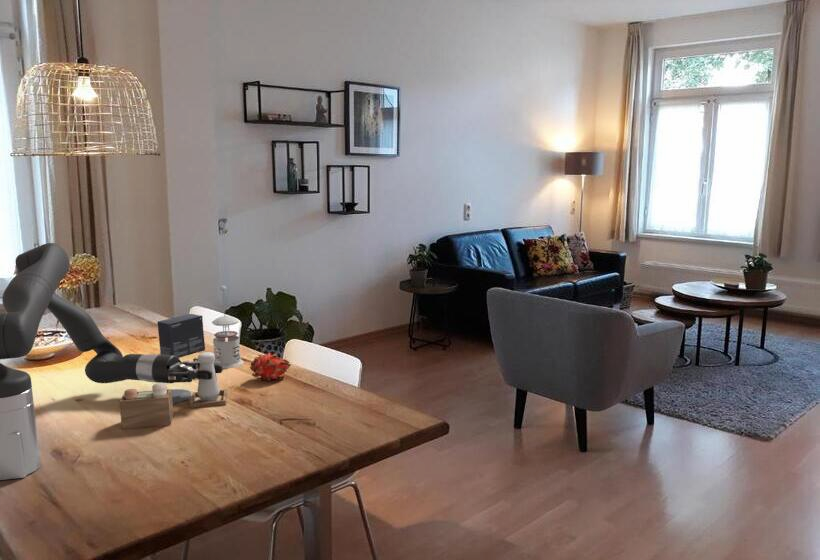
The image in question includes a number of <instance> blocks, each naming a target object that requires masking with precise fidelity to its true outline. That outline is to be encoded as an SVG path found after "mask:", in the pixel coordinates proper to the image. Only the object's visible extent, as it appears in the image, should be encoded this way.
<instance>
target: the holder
mask: <svg viewBox="0 0 820 560" xmlns="http://www.w3.org/2000/svg"><path fill="white" fill-rule="evenodd" d="M220 395H223V398H222V400H216V401H210V402H202V401H200V402H195V400H196V397H199V396H198V394H197V391H193V392H192V393H191V397H190V402H189V409H191V408H202V407H203V408H205V407H215V406H226V404H227V398H228V389H220V393H219V395H218V396H220Z"/></svg>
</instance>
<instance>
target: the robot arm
mask: <svg viewBox="0 0 820 560" xmlns="http://www.w3.org/2000/svg"><path fill="white" fill-rule="evenodd" d="M69 258H70V257H69V256H68V253H67V252H66V251H65V249H64V248H63V247H62V246H61V245H59V244H57V243H55V242H48V243H43V244H41V245H39V246H36V247H34V248H32V249H29V250H27V251H25V252H22V253H20V254H18V255H17V256H16V258H15V266H16V267H15V268H16V270H17V271H18V273H17V274H16V275H15V276H14V277H12V279H11V280H10V281H9V283H8V285H7V286H6V288H5V290H4V292H3V293H2V296H1V297H2V298H1V299H2V305H3V307H4V309H5V311H6V312H1V313H0V360H8V359H17V358H19V359H20V358H22V357H25V356H27V355H29V353H30V352H31V350H32V349H33V347H34V344H35V340H36V337H37V333H38V331H39V327H40V323H41V320H42V318H43V316H44V315H45V312H46V310H47V309H48V311H50V313H51V314H53V316H54V317H55V318H56V320H57V321H58V322H59V323H60V324H61V326H62V327H63V329H64V330H65V331H66V333H67V335H68V336H69V338H70V339H71V341H72V343H73V344H74V345H75V347H76V348H77V350H78V351H79V352H82V353H87V352H90V351H92V350H93V351H94V352H95V354H96V355H94V357H92V359H90V360H89V361H88V362H87V364H86V365H85V368H84V374H85V376H86V377H87V378H88V380H90V381H92V382H94V383H97V384H112V383H118V382H123V381H127V380H128V381H129V380H130V381H141V382H143V381H144V382H148V383H156V384H158V383H165V384H174V383H192V382H193V381H197V380H198V381H199V379H207V380H210V379H212V371H206V370H200V365H201V363H199V362H198V357H194V358H193V359H192V361H190V360H183V361H181V359H180V357H179V358H178V357H177V356H175V355H161V354H160V353H159V354H157V353H151V354H150V353H148V354H143V353H141V354H140V353H128V354H125V355H123V354H122V352H121V350H120V349H119V348H118V347H117V346H116V345H115V344H113V343H112V342H111V340H109V339H108V338H107V337H106V336H105V335H103V334H102V332H101V330H100V329H99V327H98V325H97V324H96V322H95V320H94V319H93V318H92V316H91V315H90V314H89V313H88V312H87V311H86V310H85V309H83V308H81V307H80V306H77V305H76V304H74V303H72V302H70V301H68V300H66V299H64V298H63V297H61V296H60V295H58V294H57V293H56V290H57V288H58V285H59V284H60V283H61V281H62V280H63V279H64V278H65V276H67V274H68V273H69V270H70V265H71V264H70V259H69ZM213 365H214V369H215V373H216V374H221V373H222V372H223V368H222V365H218V364H213ZM33 393H34V392H33V386H32V377H31V375H30V374H29V373H28V372H26V371H23V370H19V369H17V368H16V369H15V368H13V367H9V366H7V365H4V364H3V363H1V362H0V481H4V480H11V479H13V480H14V479H24V478H26V477H27V475H29V474H32V473H33V472H36V471H37V470H38V469H39V468H40V467H41V466H42V459H41V452H40V444H39V436H38V428H37V427H38V426H37V420H36V418H37V417H36V412H35V411H36V410H35V403H34V394H33Z"/></svg>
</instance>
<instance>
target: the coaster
mask: <svg viewBox="0 0 820 560" xmlns="http://www.w3.org/2000/svg"><path fill="white" fill-rule="evenodd" d="M191 397H192V393H191V391H190V390H188V389H184V388H183V389H182V388H181V389H179V388H178V389H177V388H176V389H172V402H173V405H174V404H179V403H183V402H185V400H186V401H187V400H189V399H191Z"/></svg>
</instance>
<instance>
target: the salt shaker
mask: <svg viewBox="0 0 820 560" xmlns="http://www.w3.org/2000/svg"><path fill="white" fill-rule="evenodd" d="M197 358H198V362H199V363H201V365H200V370H206V371H212V379H210V380H207V379H198V384H197V391H196V392H197V394H198V396H197V397H198V398H199V399H200V402H210V401H218V400H217V399H219V396H220V395H219V393H220V390H221V389H220V385H219V382H218V377H217V373H215V369H214V365H213V363H214V361H215V355H214V352H211V351H205V352H204V351H203V352H201V353H199V354H198V356H197Z"/></svg>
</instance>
